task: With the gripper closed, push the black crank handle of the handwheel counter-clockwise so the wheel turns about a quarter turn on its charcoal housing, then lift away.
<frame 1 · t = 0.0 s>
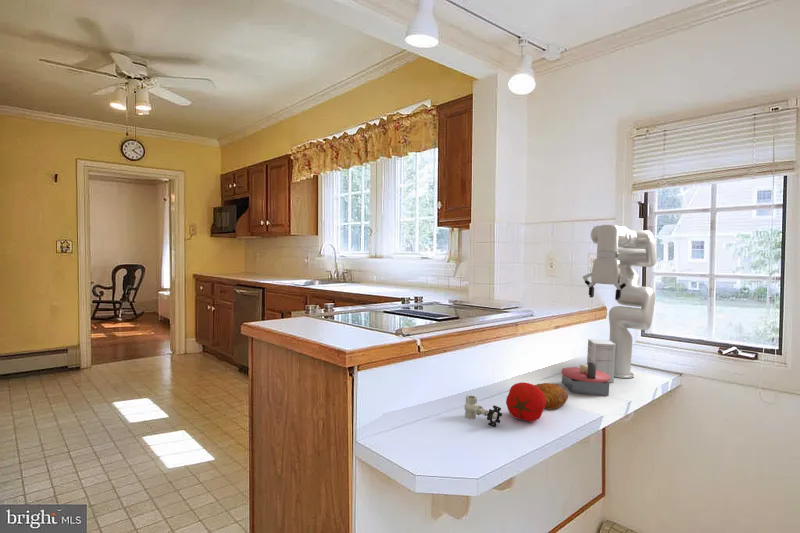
hand: (604, 298, 181), 37 cm above the countertop, tool pointing down, fingers open, 9 cm apart
supplement box: (599, 379, 199), on the countertop
croissant: (545, 403, 164), on the countertop
handwheel: (585, 367, 182), point 9 cm above the countertop, hinge at 0.0°
valve: (479, 421, 143), on the countertop
housing: (584, 389, 183), on the countertop
tomato: (524, 419, 147), on the countertop
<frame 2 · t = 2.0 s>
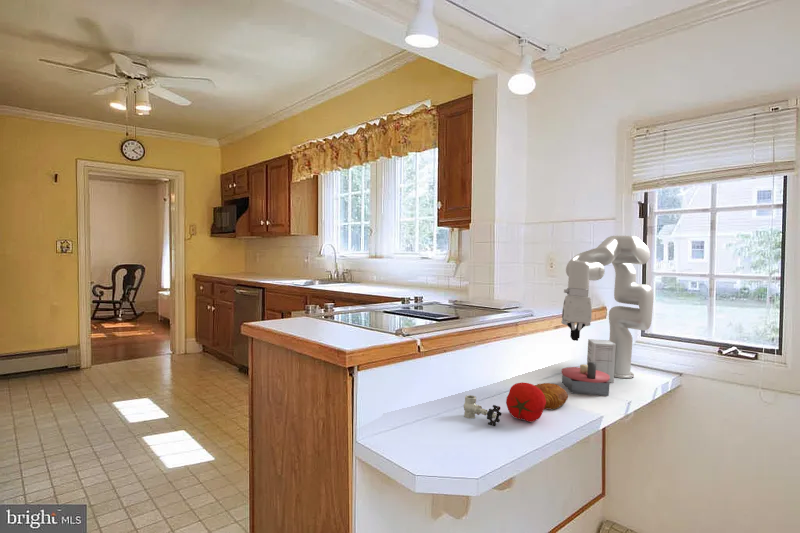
hand: (574, 339, 175), 21 cm above the countertop, tool pointing down, fingers closed
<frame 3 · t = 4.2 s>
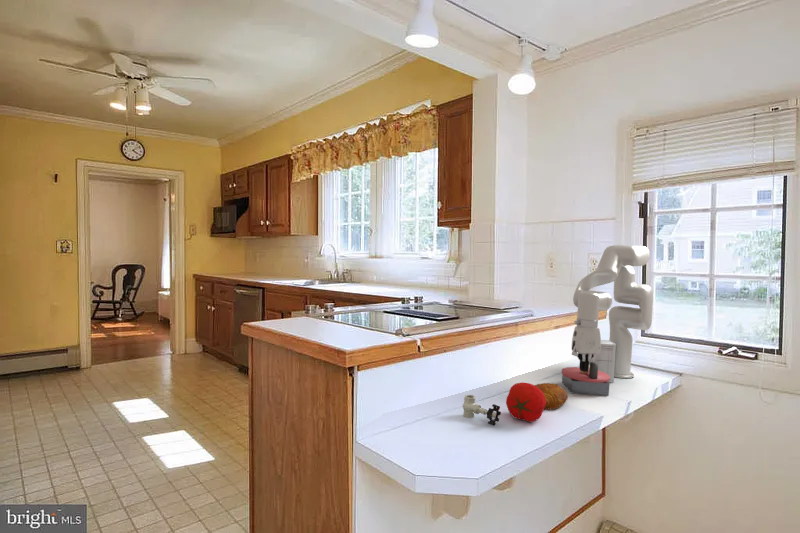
hand: (583, 370, 175), 9 cm above the countertop, tool pointing down, fingers closed
handwheel: (585, 367, 182), point 9 cm above the countertop, hinge at 6.5°, touching gripper
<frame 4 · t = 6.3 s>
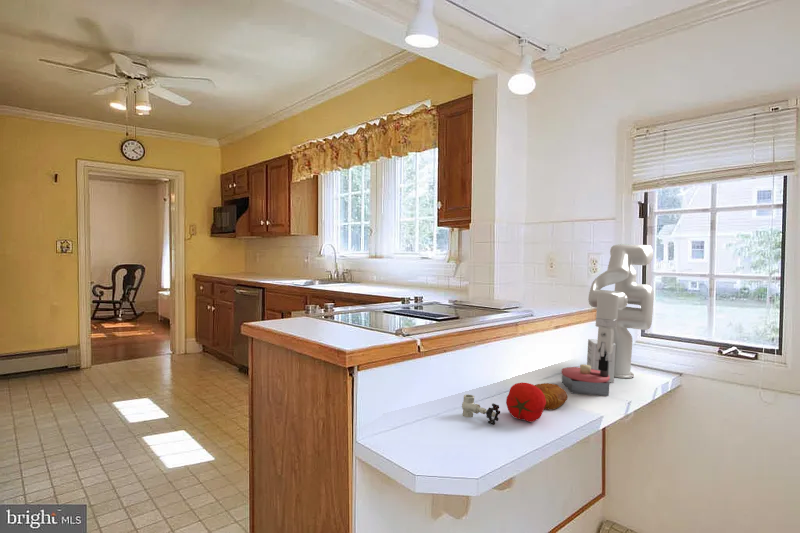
hand: (602, 370, 176), 10 cm above the countertop, tool pointing down, fingers closed
handwheel: (585, 367, 182), point 9 cm above the countertop, hinge at 65.6°, touching gripper
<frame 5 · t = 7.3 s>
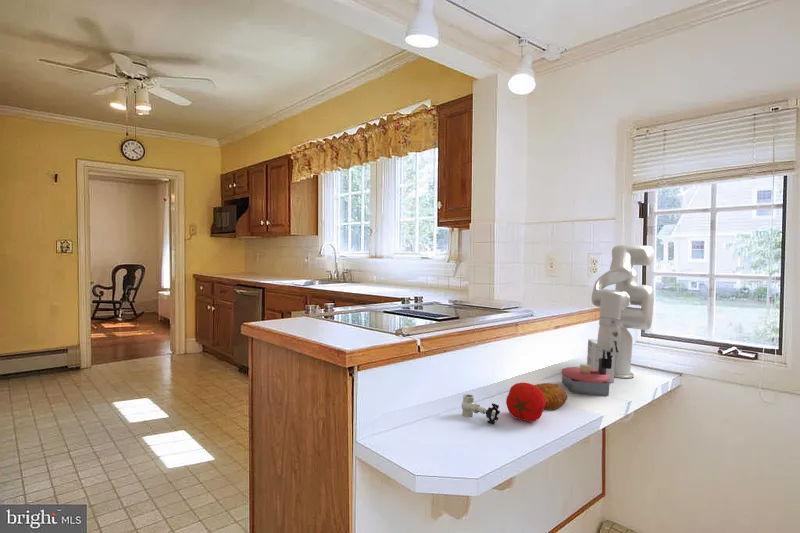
hand: (606, 368, 179), 10 cm above the countertop, tool pointing down, fingers closed
handwheel: (585, 367, 182), point 9 cm above the countertop, hinge at 97.5°, touching gripper
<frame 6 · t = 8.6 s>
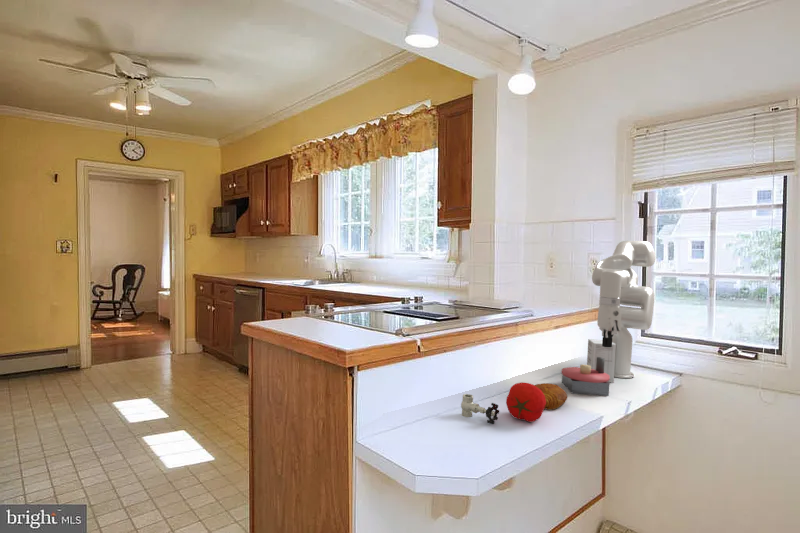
hand: (606, 346, 181), 18 cm above the countertop, tool pointing down, fingers closed
handwheel: (585, 367, 182), point 9 cm above the countertop, hinge at 110.3°
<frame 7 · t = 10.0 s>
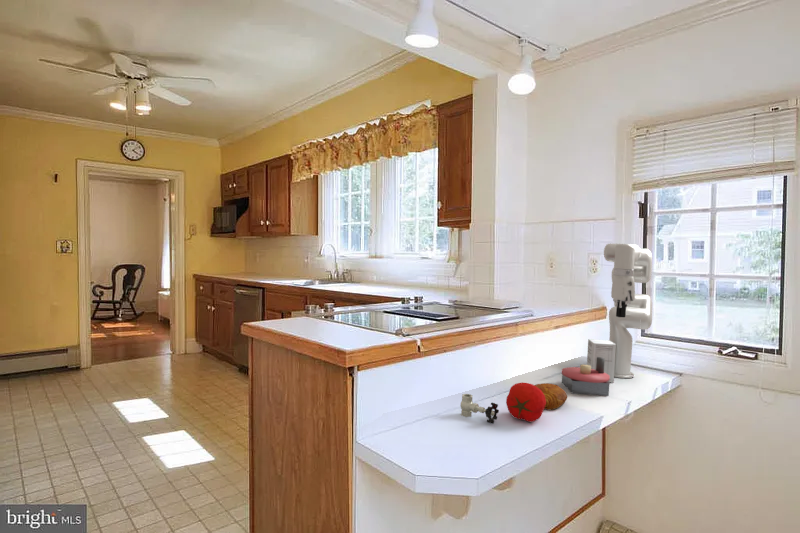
hand: (620, 316, 189), 29 cm above the countertop, tool pointing down, fingers closed
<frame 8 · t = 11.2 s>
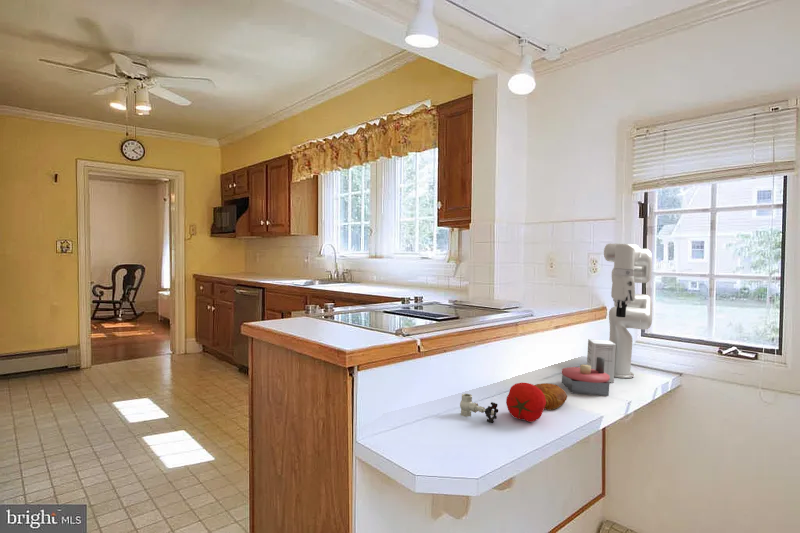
hand: (620, 316, 189), 29 cm above the countertop, tool pointing down, fingers closed
at the end: handwheel at +110° (first picture: +0°) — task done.
